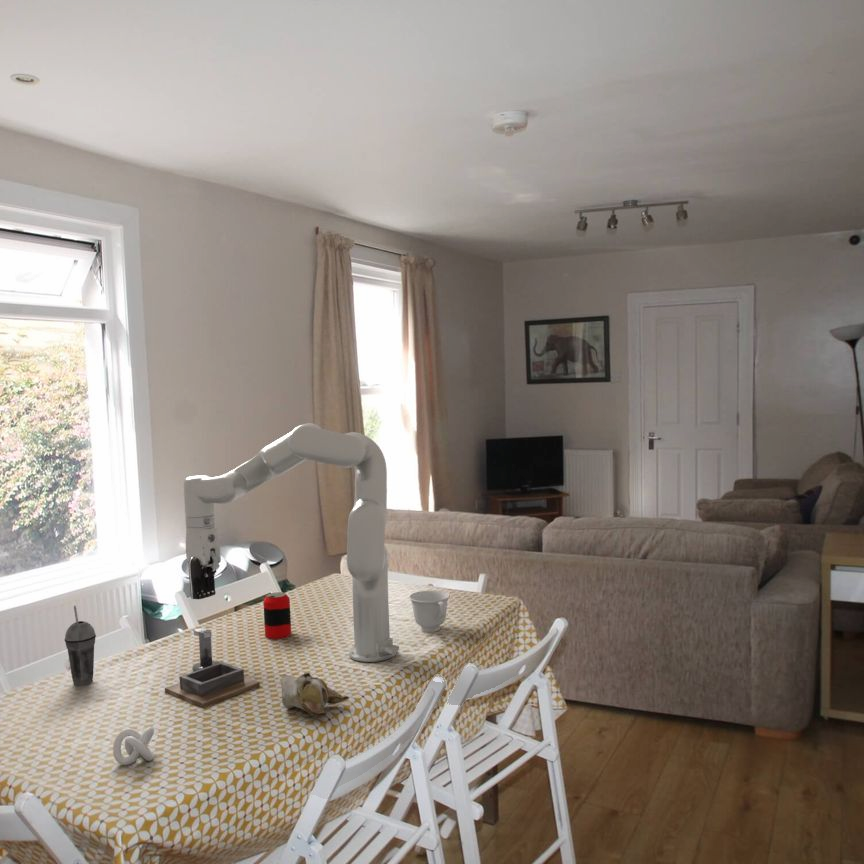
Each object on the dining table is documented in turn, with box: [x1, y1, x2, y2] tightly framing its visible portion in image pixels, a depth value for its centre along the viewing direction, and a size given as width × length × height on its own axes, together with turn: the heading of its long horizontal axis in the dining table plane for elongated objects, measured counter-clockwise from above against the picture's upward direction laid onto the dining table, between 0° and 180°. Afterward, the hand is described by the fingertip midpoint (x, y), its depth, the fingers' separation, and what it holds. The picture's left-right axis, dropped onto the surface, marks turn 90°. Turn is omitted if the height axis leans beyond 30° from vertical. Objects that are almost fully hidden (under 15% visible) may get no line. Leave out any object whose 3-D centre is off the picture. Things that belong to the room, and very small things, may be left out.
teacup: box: [408, 590, 451, 633], centre depth 232 cm, size 12×15×10 cm
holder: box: [164, 661, 261, 708], centre depth 192 cm, size 16×16×4 cm
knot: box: [112, 726, 155, 766], centre depth 157 cm, size 8×8×6 cm
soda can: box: [262, 591, 292, 640], centre depth 232 cm, size 8×8×12 cm
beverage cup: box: [64, 605, 97, 687], centre depth 199 cm, size 7×7×20 cm
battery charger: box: [187, 557, 217, 600], centre depth 213 cm, size 7×4×11 cm, turn 144°
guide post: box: [192, 627, 221, 672], centre depth 206 cm, size 7×7×10 cm
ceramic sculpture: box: [280, 672, 350, 718], centre depth 178 cm, size 11×9×15 cm
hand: (204, 588), depth 213 cm, fingers closed on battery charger, 4 cm apart
